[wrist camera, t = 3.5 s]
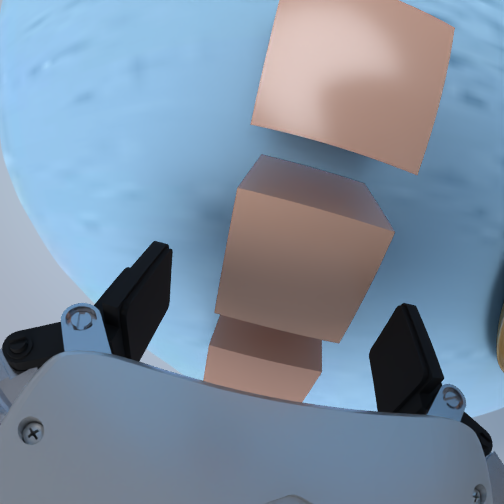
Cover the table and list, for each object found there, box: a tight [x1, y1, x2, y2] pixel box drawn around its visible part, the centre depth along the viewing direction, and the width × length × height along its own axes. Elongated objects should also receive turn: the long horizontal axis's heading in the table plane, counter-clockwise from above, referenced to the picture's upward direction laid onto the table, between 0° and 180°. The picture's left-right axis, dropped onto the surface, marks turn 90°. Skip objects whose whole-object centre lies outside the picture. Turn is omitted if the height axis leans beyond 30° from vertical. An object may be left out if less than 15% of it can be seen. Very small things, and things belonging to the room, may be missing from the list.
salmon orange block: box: [203, 315, 322, 402], centre depth 20 cm, size 6×6×7 cm
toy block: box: [214, 154, 395, 343], centre depth 16 cm, size 6×6×7 cm
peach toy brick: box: [251, 0, 455, 175], centre depth 11 cm, size 6×6×7 cm
